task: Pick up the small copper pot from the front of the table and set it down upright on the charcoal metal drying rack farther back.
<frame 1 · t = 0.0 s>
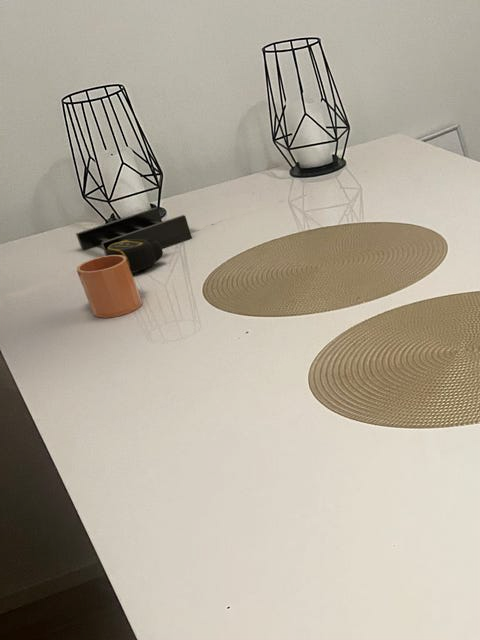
rack: (138, 246, 150), on the table
pot: (118, 308, 128), on the table
tape measure: (138, 268, 142), on the table
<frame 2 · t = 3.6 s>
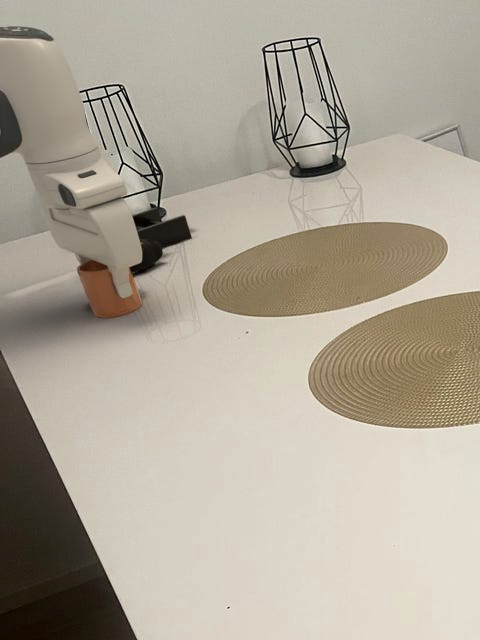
hand: (112, 290, 127), 2 cm above the table, tool pointing down, fingers closed on pot, 6 cm apart
pot: (118, 308, 128), on the table, touching gripper
everything else where it was.
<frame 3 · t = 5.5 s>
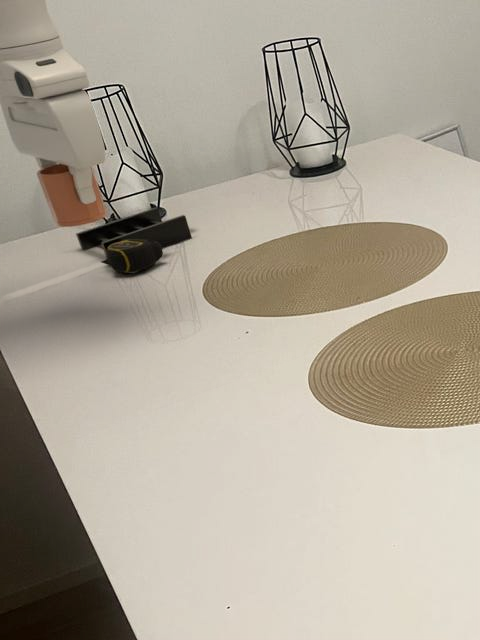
hand: (75, 198, 119), 14 cm above the table, tool pointing down, fingers closed on pot, 6 cm apart
pot: (81, 218, 121), point 12 cm above the table, touching gripper
everything else where it was.
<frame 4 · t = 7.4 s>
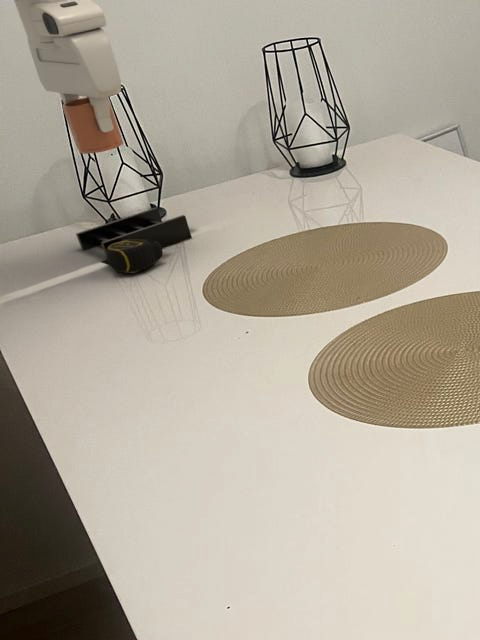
hand: (95, 129, 136), 17 cm above the table, tool pointing down, fingers closed on pot, 6 cm apart
pot: (101, 147, 138), point 15 cm above the table, touching gripper
everything else where it was.
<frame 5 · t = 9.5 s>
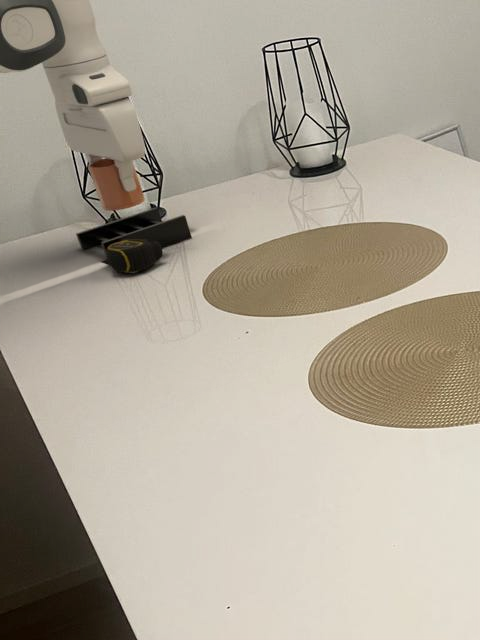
hand: (118, 187, 144), 9 cm above the table, tool pointing down, fingers closed on pot, 6 cm apart
pot: (124, 203, 146), point 6 cm above the table, touching gripper
everything else where it was.
when the fingers open (5 cm above the table, at t = 11.1 s): pot stays where it is, resting on rack.
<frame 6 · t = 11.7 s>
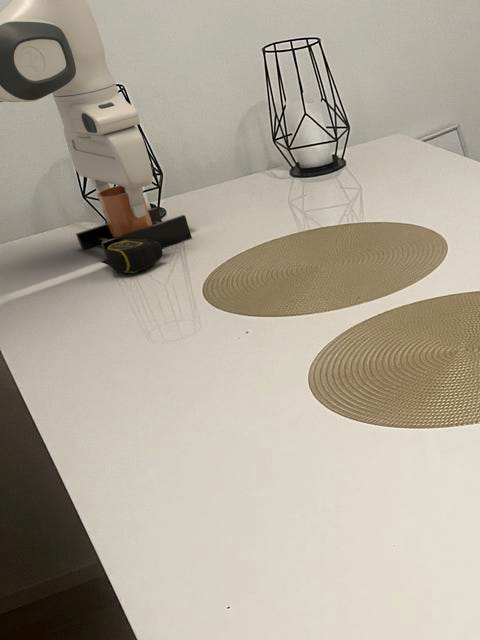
hand: (125, 212, 147), 5 cm above the table, tool pointing down, fingers open, 8 cm apart
pot: (132, 231, 149), point 2 cm above the table, touching rack
everything else where it was.
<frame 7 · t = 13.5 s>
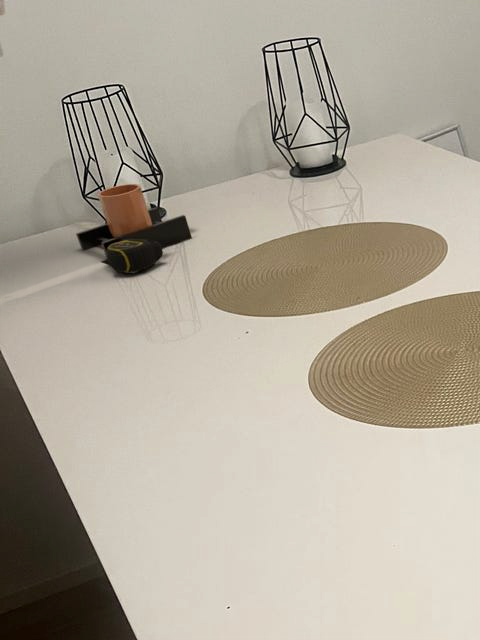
nothing on the table moved.
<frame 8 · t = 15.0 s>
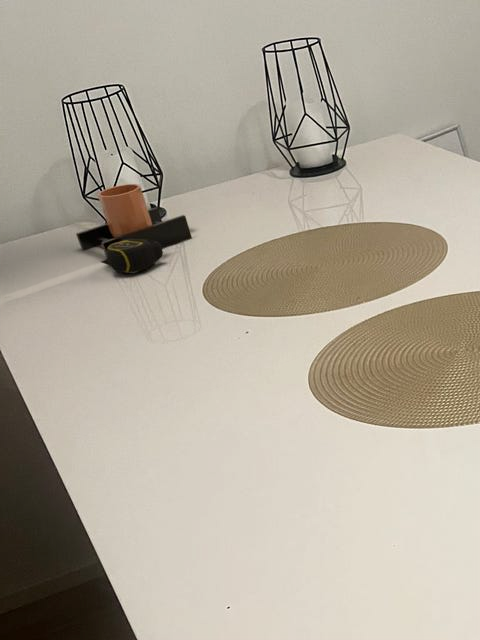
nothing on the table moved.
at the end: pot inside the target area on the rack (0.0 cm from its centre), point 2.4 cm above the rack's base; pot tilted 0°; the gripper is holding nothing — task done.
